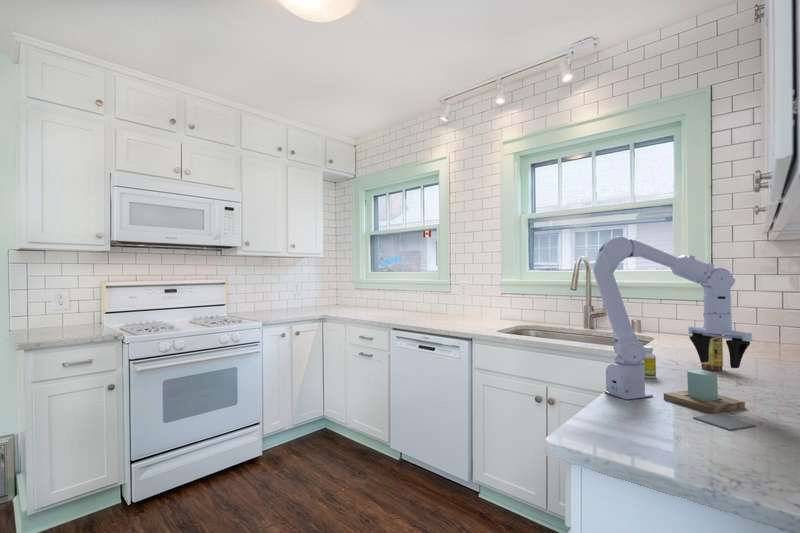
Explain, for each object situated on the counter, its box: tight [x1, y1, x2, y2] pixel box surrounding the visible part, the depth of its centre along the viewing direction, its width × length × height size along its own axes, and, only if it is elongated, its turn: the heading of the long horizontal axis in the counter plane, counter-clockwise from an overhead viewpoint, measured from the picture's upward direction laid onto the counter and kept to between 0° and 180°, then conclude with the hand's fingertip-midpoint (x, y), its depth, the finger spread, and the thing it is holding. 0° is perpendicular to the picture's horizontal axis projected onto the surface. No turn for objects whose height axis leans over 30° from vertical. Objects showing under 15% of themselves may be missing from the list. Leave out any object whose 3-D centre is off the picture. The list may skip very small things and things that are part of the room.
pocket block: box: [663, 389, 746, 414], centre depth 104 cm, size 12×12×2 cm
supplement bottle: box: [643, 345, 657, 379], centre depth 132 cm, size 5×5×10 cm
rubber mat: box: [692, 412, 757, 431], centre depth 90 cm, size 8×8×1 cm
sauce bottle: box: [700, 326, 724, 371], centre depth 142 cm, size 7×6×20 cm
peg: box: [686, 369, 719, 402], centre depth 104 cm, size 4×4×8 cm
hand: (719, 364), depth 106 cm, fingers open, 7 cm apart
